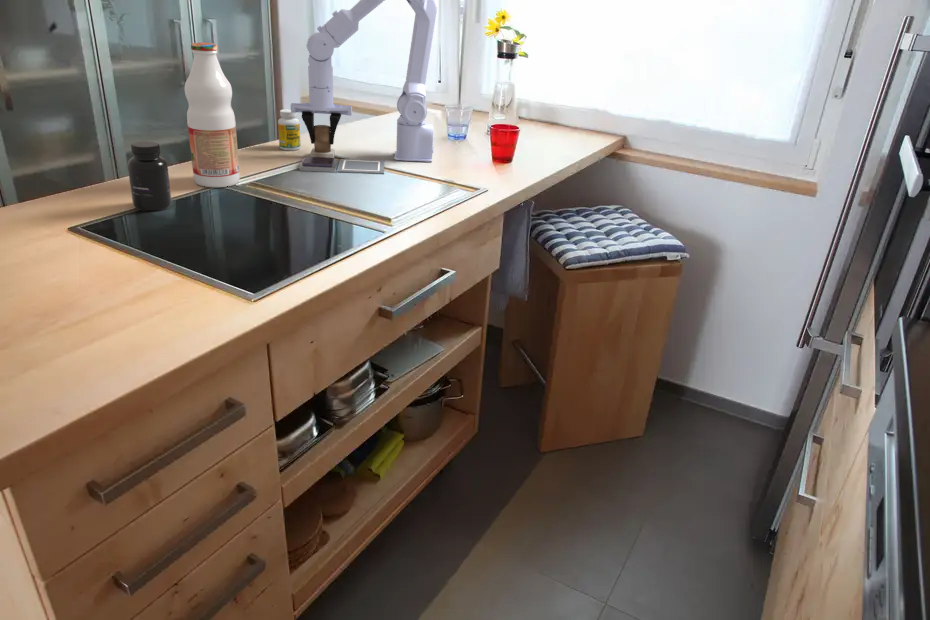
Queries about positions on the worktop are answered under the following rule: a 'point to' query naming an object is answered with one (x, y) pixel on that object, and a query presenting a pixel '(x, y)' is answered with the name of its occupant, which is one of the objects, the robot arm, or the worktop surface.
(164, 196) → the supplement bottle
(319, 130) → the stamp
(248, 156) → the worktop surface
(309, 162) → the ink pad
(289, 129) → the supplement bottle
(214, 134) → the fruit juice
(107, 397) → the worktop surface
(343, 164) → the slate mat
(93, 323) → the worktop surface
